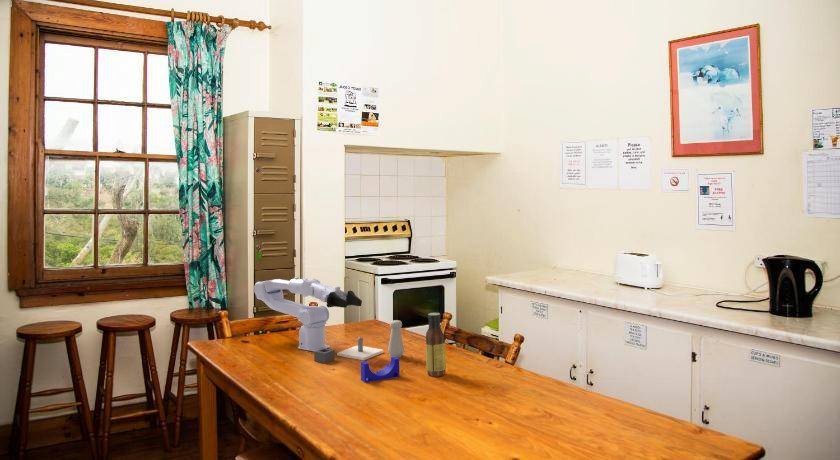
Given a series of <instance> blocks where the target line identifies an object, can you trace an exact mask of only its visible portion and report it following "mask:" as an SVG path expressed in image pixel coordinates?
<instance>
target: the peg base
mask: <svg viewBox="0 0 840 460" xmlns="http://www.w3.org/2000/svg"><path fill="white" fill-rule="evenodd" d="M383 353H384V349H382V348H375V347H370V346H365V345H364V337H362V336H359V337H358V336H357V345H354V346H352V347H349V348H346V349H344V350H341V351H338V352H337V353H336V354H337V355H336V356H338V357H344V358H349V359H354V360H359V361H362V362H363V361H367V360H369V359H371V358H373V357H376V356H378V355H381V354H383Z"/></svg>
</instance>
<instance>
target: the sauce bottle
mask: <svg viewBox="0 0 840 460" xmlns="http://www.w3.org/2000/svg"><path fill="white" fill-rule="evenodd" d="M441 317H442V316H441V313H440V312H430V313H427V319H428V329H427V330H426V333H425V356H426V357H425V358H426V359H425V360H426V372H427V375H428V376H431V377H441V376H444V375H446V368H447V367H446V360H447V359H446V341H445V335H444V332H443V329H442V328H441V325H442V324H441Z"/></svg>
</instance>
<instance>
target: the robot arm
mask: <svg viewBox="0 0 840 460" xmlns="http://www.w3.org/2000/svg"><path fill="white" fill-rule="evenodd" d="M283 290H288V291H289V292H290V293H291V294H298V295H302V296H303V297H305V298H306V297H309V296H310V297H311V298H312V297H313V298H315V299H316V300H319V301H320V302H323V303H326V306H325V305H320V306H316V305H306V304H302V303H299V302H295V301H293V300H289V299H286V298H285V297H284V293H283ZM253 292H254V294H255V297H256V299H258V300H260V301H262V302H263V303H265V305H266V306H267V307H268V308H269V309H271V310H273V311H276V312H280V313H283V314H285V315H289V316H292V317H295V318H297V320H298V322H301V326H300V327H299V330H298V331H299V332H298V341H299V345H298V347H297V349H300V350H304V351H309V352H314V351H316V350H319V349H322V348H326V349H330V347H331V346H330V345H327V344H326V325H327V321H328V320H329V319H330V312H329V308H335V307H336V308H343V309H345V308H347V306H355V307H361V306H362V302H363V301H362V300H361V298H359V297H358V296H357V295H356V294H355V291H352V290H347V292H345V291H343V290H341V286H335V287H331V286H328V285H326V284H323V283H321V281H320V280H318V279H316V278H313V279H308V278H302V279H301V278H300V277H298V276H296V277H293V278H292V279H290V280H288V279H281V278H278V279H277V278H275V279H270V280H264V281H257V282H255V284H254V286H253Z"/></svg>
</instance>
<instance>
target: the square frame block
mask: <svg viewBox="0 0 840 460" xmlns="http://www.w3.org/2000/svg"><path fill="white" fill-rule="evenodd" d="M335 359H336V358H335V349H331V348H322V349H319V350H316V351H313V361H314V362H317V363H322V364H328V363H329V362H333V361H335Z"/></svg>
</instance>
